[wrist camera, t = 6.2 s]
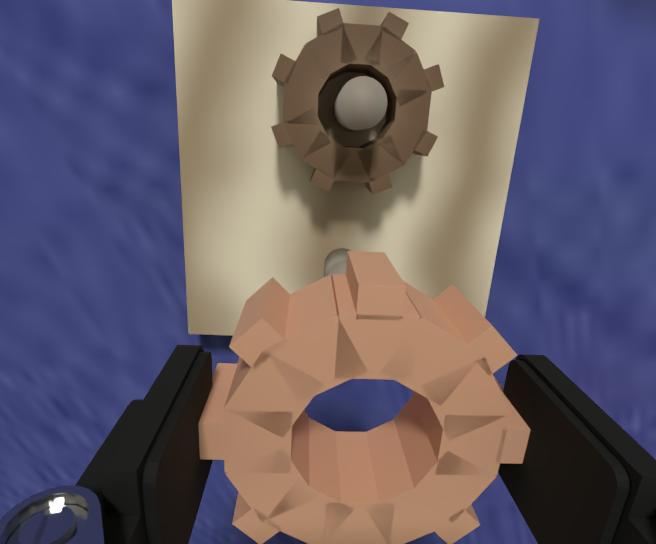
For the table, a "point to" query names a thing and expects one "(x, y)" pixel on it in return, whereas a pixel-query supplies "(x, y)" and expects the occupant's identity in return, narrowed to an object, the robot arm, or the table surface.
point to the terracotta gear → (378, 443)
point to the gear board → (342, 145)
